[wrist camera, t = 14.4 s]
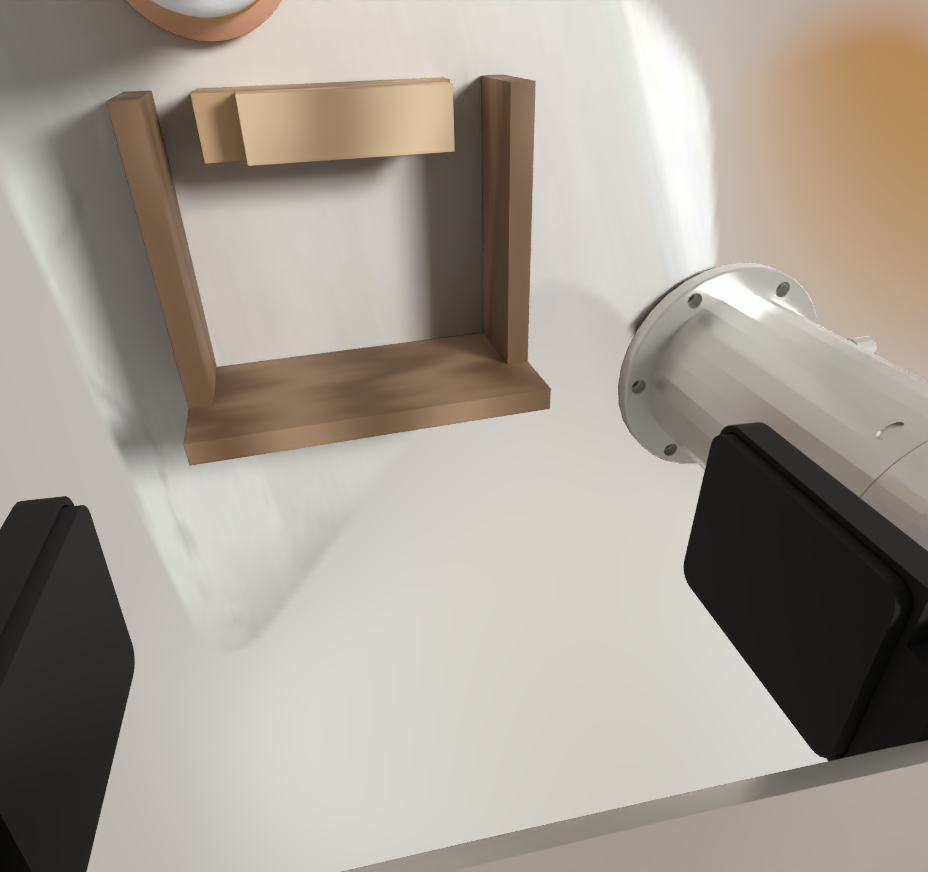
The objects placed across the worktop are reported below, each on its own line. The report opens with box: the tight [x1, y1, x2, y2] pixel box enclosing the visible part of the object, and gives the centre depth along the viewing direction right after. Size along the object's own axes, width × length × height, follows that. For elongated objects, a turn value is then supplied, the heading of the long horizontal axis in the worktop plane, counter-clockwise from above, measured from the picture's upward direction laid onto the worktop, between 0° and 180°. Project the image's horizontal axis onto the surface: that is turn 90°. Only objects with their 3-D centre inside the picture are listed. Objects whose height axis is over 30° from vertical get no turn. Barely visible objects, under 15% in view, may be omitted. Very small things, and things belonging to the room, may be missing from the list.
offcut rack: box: [106, 75, 551, 465], centre depth 28 cm, size 15×13×7 cm
